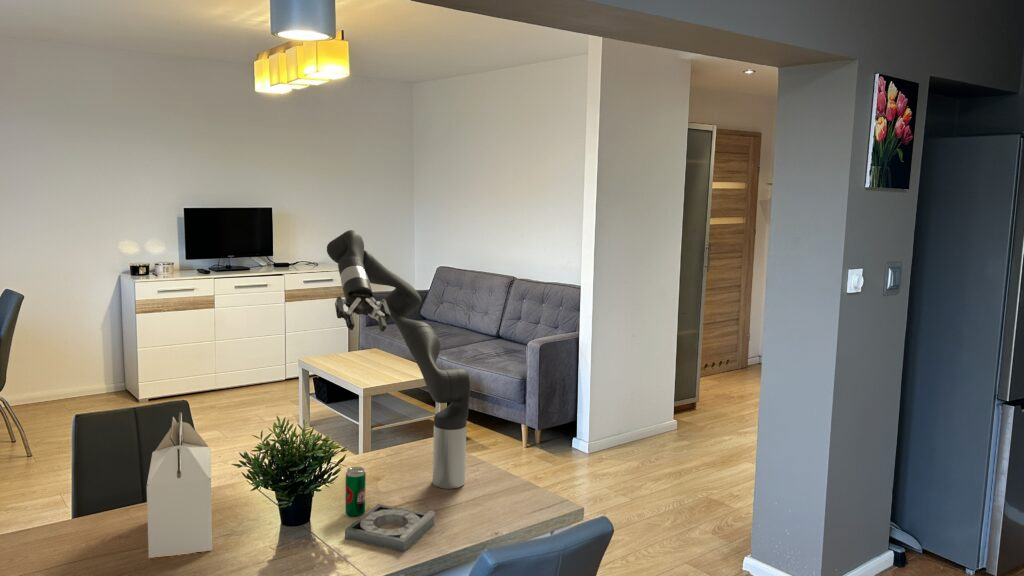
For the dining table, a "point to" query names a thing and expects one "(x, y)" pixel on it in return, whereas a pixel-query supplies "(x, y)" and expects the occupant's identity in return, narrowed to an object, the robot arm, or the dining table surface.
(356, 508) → the soda can
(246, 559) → the dining table surface
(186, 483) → the gable box
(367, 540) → the jig
